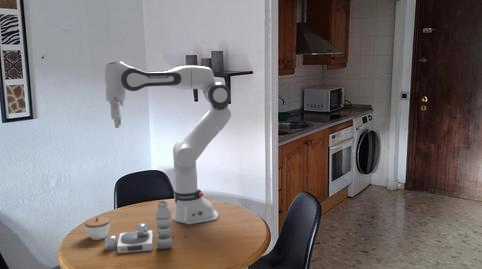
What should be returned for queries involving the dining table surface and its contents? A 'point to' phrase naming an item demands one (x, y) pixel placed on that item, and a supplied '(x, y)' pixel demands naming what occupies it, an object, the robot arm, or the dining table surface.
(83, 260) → the dining table surface
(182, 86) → the robot arm
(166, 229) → the plastic bottle
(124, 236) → the kitchen scale
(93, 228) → the lidded jar
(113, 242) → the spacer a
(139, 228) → the silver ball
